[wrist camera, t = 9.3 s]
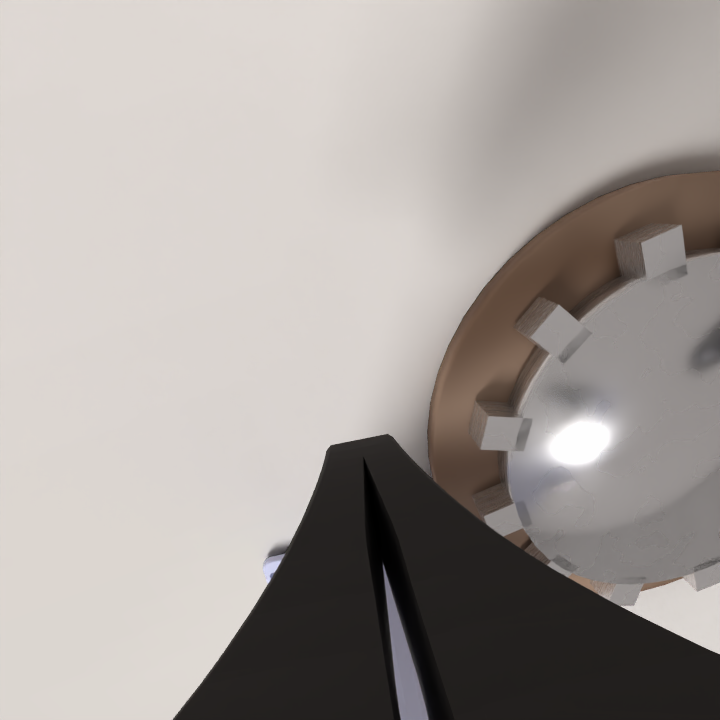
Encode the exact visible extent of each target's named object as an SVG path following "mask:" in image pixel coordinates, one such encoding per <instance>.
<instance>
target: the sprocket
mask: <svg viewBox="0 0 720 720" xmlns="http://www.w3.org/2000/svg"><path fill="white" fill-rule="evenodd" d="M614 244H615V249H616V254H617V260H618V265H619V271H620V276H618V277H616V278H614V279H612V280H611V281H609V282H608V283H606V284H605V285H603V286H602V287H600V288H599V289H597V290H596V291H594V292H593V293H591V294H590V295H588V296H587V297H586V298H585V299H584V300H582V301H581V302H580V303H579V304H578V305H576V306H575V307H574V308H573V309H572V310H570V311H569V312H567V311H566V310H565V309H564V308H562V307H561V306H560V305H559V304H556V303H554V302H551V301H549V300H546V299H544V298H541V297H538V298H537V299H536V301H535V302H534V303H533V304H532V305H531V307H530V308H529V309H528V310H527V311H526V312H525V314H524V315H523V316H522V317H521V318H520V320H519V321H518V322H517V323H516V324H515V325H514V328H515V329H516V330H517V331H519V332H520V333H521V334H522V335H524V336H525V337H526V338H527V339H529V340H530V341H531V342H532V343H534V344H535V345H536V346H537V348H536V350H535V351H534V352H533V354H532V355H531V357H530V358H529V360H528V362H527V363H526V365H525V367H524V368H523V370H522V371H521V373H520V375H519V377H518V379H517V381H516V383H515V386H514V388H513V390H512V392H511V394H510V396H509V399H508V402H491V401H475V404H474V408H473V412H472V417H471V421H470V425H469V430H468V433H469V434H470V435H471V437H472V438H473V440H474V441H475V443H476V444H477V445H478V447H479V448H480V450H498V468H499V478H500V482H501V483H500V484H497V485H495V486H493V487H490V488H488V489H486V490H483V491H481V492H479V493H476V494H474V495H472V497H473V500H474V502H475V505H476V507H477V510H478V512H479V515H480V517H481V519H482V521H483V522H484V523H485V524H487V525H488V526H489V527H491V528H492V529H494V530H495V531H496V532H498V533H499V534H500V535H502V536H506V535H508V534H510V533H513V532H515V531H517V530H520V529H522V528H523V529H524V530H525V532H526V533H527V535H528V536H529V538H530V539H531V540H532V543H531V544H530V545H529V546H528V547H527V548H526V549H525V550H524V551H525V552H527V553H528V554H530V555H532V556H533V557H535V558H536V559H538V560H540V561H541V562H543V563H544V564H546V565H548V566H549V567H551V568H552V569H554V570H556V571H557V572H559V573H561V574H563V575H565V576H566V577H569V576H570V575H571V574H572V573H573V574H575V575H577V576H581V577H584V578H587V579H590V584H591V585H592V586H593V588H594V589H595V590H596V592H597V593H598V594H599V595H600V596H602V597H604V598H606V599H608V600H609V601H611V602H613V603H615V604H617V605H619V606H631V605H634V604H635V602H636V600H637V597H638V595H639V593H640V591H641V589H642V586H643V584H645V583H654V582H660V581H666V580H671V579H674V578H678V577H683V578H684V579H685V580H686V581H687V582H688V583H689V584H690V585H691V586H692V587H693V588H694V589H695V590H696V591H697V592H698V591H700V590H702V589H705V588H707V587H710V586H712V585H715V584H717V583H720V248H708V249H698V250H688V251H685V247H684V239H683V231H682V225H674V224H654V223H651V224H648V225H646V226H644V227H642V228H639V229H637V230H635V231H633V232H630V233H628V234H626V235H624V236H621V237H619V238H617V239H615V240H614Z"/></svg>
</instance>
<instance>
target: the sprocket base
mask: <svg viewBox="0 0 720 720" xmlns="http://www.w3.org/2000/svg"><path fill="white" fill-rule="evenodd" d="M651 223H654V224H674V225H682V231H683V239H684V247H685V251H688V250H698V249H708V248H720V171H711V172H699V173H689V174H679V175H669V176H662V177H658V178H654V179H650V180H646V181H642V182H638V183H634V184H631V185H628V186H625V187H623V188H620V189H618V190H615V191H613V192H610V193H608V194H605V195H603V196H600V197H598V198H596V199H594V200H592V201H590V202H588V203H587V204H585V205H583V206H581V207H579V208H577V209H576V210H574V211H572V212H570V213H568V214H566V215H565V216H563V217H562V218H561V219H559V220H558V221H556V222H555V223H553V224H552V225H551V226H549V227H548V228H546V229H545V230H544V231H542V232H541V233H539V234H538V235H537V236H535V237H534V238H533V239H532V240H531V241H530V242H528V243H527V244H526V245H525V246H524V247H523V248H522V249H521V250H520V251H518V252H517V253H516V254H515V255H514V256H513V257H512V258H511V259H510V260H508V261H507V263H506V264H505V265H504V266H503V267H502V268H501V269H500V271H499V272H498V273H497V274H496V275H495V276H494V277H493V278H492V280H491V281H490V282H489V283H488V284H487V285H486V286H485V287H484V289H483V290H482V292H481V293H480V294H479V296H478V297H477V299H476V300H475V302H474V303H473V304H472V306H471V307H470V309H469V310H468V312H467V313H466V315H465V316H464V318H463V320H462V321H461V323H460V325H459V327H458V329H457V331H456V333H455V334H454V336H453V338H452V340H451V342H450V344H449V346H448V348H447V351H446V353H445V356H444V359H443V361H442V364H441V366H440V369H439V372H438V374H437V378H436V382H435V386H434V390H433V394H432V398H431V402H430V410H429V420H428V430H427V434H428V457H429V462H430V467H431V472H432V477H433V480H434V481H435V482H436V483H437V484H438V485H439V486H440V487H441V488H443V489H444V490H445V491H446V492H447V493H448V494H449V495H451V496H452V497H453V498H454V499H455V500H456V501H458V502H459V503H460V504H461V505H462V506H464V507H465V508H466V509H467V510H469V511H470V512H471V513H472V514H474V515H475V516H476V517H477V518H479V519H480V520H481V521H482V519H481V517H480V515H479V512H478V510H477V507H476V505H475V502H474V500H473V497H472V495H474V494H476V493H479V492H481V491H483V490H486V489H488V488H490V487H493V486H495V485H497V484H500V483H501V482H500V478H499V468H498V450H480V448H479V447H478V445H477V444H476V443H475V441H474V440H473V438H472V437H471V435H470V434H469V433H468V430H469V425H470V421H471V417H472V412H473V408H474V404H475V401H491V402H508V399H509V396H510V394H511V392H512V390H513V388H514V386H515V383H516V381H517V379H518V377H519V375H520V373H521V371H522V370H523V368H524V367H525V365H526V363H527V362H528V360H529V358H530V357H531V355H532V354H533V352H534V351H535V350H536V348H537V346H536V345H535V344H534V343H532V342H531V341H530V340H529V339H527V338H526V337H525V336H524V335H522V334H521V333H520V332H519V331H517V330H516V329H515V328H514V325H515V324H516V323H517V322H518V321H519V320H520V318H521V317H522V316H523V315H524V314H525V312H526V311H527V310H528V309H529V308H530V307H531V305H532V304H533V303H534V302H535V301H536V299H537V298H538V297H541V298H544V299H546V300H549V301H551V302H554V303H556V304H559V305H560V306H561V307H562V308H564V309H565V310H566V311H567V312H569V311H570V310H572V309H573V308H574V307H575V306H576V305H578V304H579V303H580V302H581V301H582V300H584V299H585V298H586V297H587V296H588V295H590V294H591V293H593V292H594V291H596V290H597V289H599V288H600V287H602V286H603V285H605V284H606V283H608V282H609V281H611V280H612V279H614V278H616V277H618V276H620V271H619V265H618V260H617V254H616V249H615V244H614V240H615V239H617V238H619V237H621V236H624V235H626V234H628V233H630V232H633V231H635V230H637V229H639V228H642V227H644V226H646V225H648V224H651ZM503 537H505V538H506V539H508V540H509V541H511V542H512V543H514V544H515V545H517V546H518V547H520V548H521V549H522V550H525V549H526V548H527V547H528V546H529V545H530V544H531V543H532V540H531V539H530V538H529V536H528V535H527V533H526V532H525V530H524V529H523V528H522V529H520V530H517V531H515V532H513V533H510V534H508V535H506V536H503ZM568 578H570V579H572V580H574V581H575V582H577V583H579V584H581V585H582V586H584V587H586V588H588V589H590V590H591V591H593V592H595V593H597V592H596V590H595V589H594V588H593V586H592V585H591V584H590V579H587V578H584V577H581V576H577V575H575V574H573V573H572V574H571V575H570V576H569V577H568ZM682 578H683V577H678V578H674V579H671V580H666V581H660V582H654V583H645V584H643V586H642V589H641V591H644V590H648V589H651V588H655V587H659V586H662V585H666V584H668V583H671V582H674V581H676V580H679V579H682ZM597 594H598V593H597Z"/></svg>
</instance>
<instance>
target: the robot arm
mask: <svg viewBox="0 0 720 720" xmlns="http://www.w3.org/2000/svg"><path fill="white" fill-rule="evenodd" d="M263 571H264V574H265V577H266V580H267V583H268V585H267V587H266V588H265V590H264V592H263V593H262V595H261V597H260V598H259V600H258V602H257V603H256V605H255V606H254V608H253V610H252V611H251V613H250V614H249V616H248V617H247V619H246V620H245V622H244V623H243V625H242V626H241V628H240V629H239V630H238V632H237V633H236V635H235V636H234V638H233V639H232V641H231V642H230V644H229V645H228V647H227V648H226V650H225V651H224V653H223V654H222V655H221V657H220V658H219V660H218V661H217V662H216V664H215V665H214V667H213V668H212V669H211V671H210V672H209V673H208V675H207V676H206V678H205V679H204V680H203V682H202V683H201V684H200V686H199V687H198V688H197V689H196V691H195V692H194V693H193V694H192V696H191V697H190V698H189V700H188V701H187V702H186V703H185V705H184V706H183V707H182V708H181V710H180V711H179V712H178V714H177V715H176V716H175V717H174V719H173V720H720V654H717V653H715V652H713V651H710V650H708V649H706V648H704V647H702V646H700V645H698V644H695V643H693V642H691V641H689V640H687V639H685V638H683V637H681V636H679V635H677V634H675V633H673V632H671V631H669V630H667V629H665V628H663V627H660V626H658V625H656V624H654V623H652V622H650V621H648V620H646V619H644V618H642V617H640V616H638V615H636V614H634V613H632V612H630V611H628V610H626V609H624V608H622V607H620V606H619V605H617V604H615V603H613V602H611V601H609V600H608V599H606V598H604V597H602V596H600V595H599V594H597V593H595V592H593V591H591V590H590V589H588V588H586V587H584V586H582V585H581V584H579V583H577V582H575V581H574V580H572V579H570V578H568V577H566V576H565V575H563V574H561V573H559V572H557V571H556V570H554V569H552V568H551V567H549V566H548V565H546V564H544V563H543V562H541V561H540V560H538V559H536V558H535V557H533V556H532V555H530V554H528V553H527V552H525V551H524V550H522V549H521V548H520V547H518V546H517V545H515V544H514V543H512V542H511V541H509V540H508V539H506V538H505V537H503V536H502V535H500V534H499V533H498V532H496V531H495V530H494V529H492V528H491V527H489V526H488V525H487V524H485V523H484V522H483V521H481V520H480V519H479V518H477V517H476V516H475V515H474V514H472V513H471V512H470V511H469V510H467V509H466V508H465V507H464V506H462V505H461V504H460V503H459V502H458V501H456V500H455V499H454V498H453V497H452V496H451V495H449V494H448V493H447V492H446V491H445V490H444V489H443V488H441V487H440V486H439V485H438V484H437V483H436V482H435V481H434V480H433V479H432V478H431V477H429V476H428V475H427V474H426V473H425V472H424V471H423V470H422V469H421V468H420V467H419V466H418V465H417V464H416V463H415V462H414V461H413V460H412V459H411V458H410V457H409V455H408V454H407V453H406V452H405V451H404V450H403V449H402V448H401V447H400V445H399V444H398V443H397V442H396V440H395V439H394V438H393V437H392V436H390V435H389V434H385V435H380V436H375V437H370V438H365V439H360V440H355V441H350V442H345V443H340V444H335V445H331V446H330V447H329V448H328V450H327V451H326V456H325V460H324V464H323V467H322V470H321V473H320V476H319V479H318V482H317V485H316V487H315V490H314V492H313V495H312V497H311V500H310V502H309V504H308V507H307V509H306V512H305V514H304V516H303V518H302V521H301V523H300V525H299V527H298V529H297V531H296V533H295V535H294V537H293V539H292V541H291V543H290V545H289V547H288V549H287V551H286V553H285V554H282V555H277V556H272V557H269V558H267V559H266V560H265V561H264V565H263ZM273 572H275V573H274V574H273Z"/></svg>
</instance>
